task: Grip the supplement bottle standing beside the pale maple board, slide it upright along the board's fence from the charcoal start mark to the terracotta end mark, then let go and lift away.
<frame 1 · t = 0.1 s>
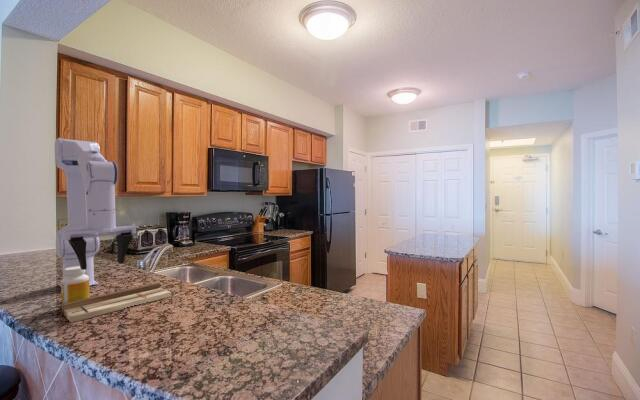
hand: (102, 265, 74), 10 cm above the countertop, fingers open, 7 cm apart
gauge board: (120, 304, 76), on the countertop
supplement bottle: (76, 307, 74), on the countertop
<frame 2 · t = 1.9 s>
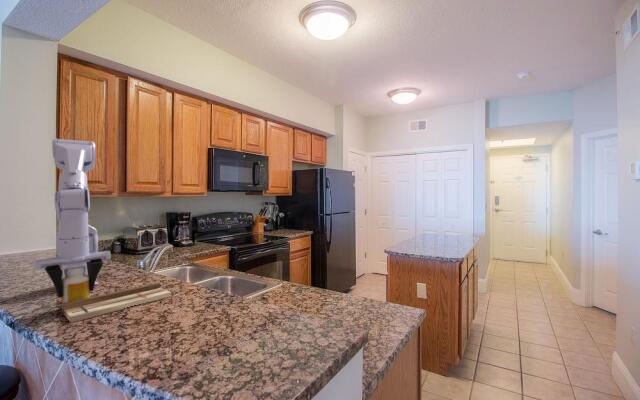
hand: (75, 293, 74), 3 cm above the countertop, fingers closed on supplement bottle, 5 cm apart
supplement bottle: (76, 307, 74), on the countertop, touching gripper
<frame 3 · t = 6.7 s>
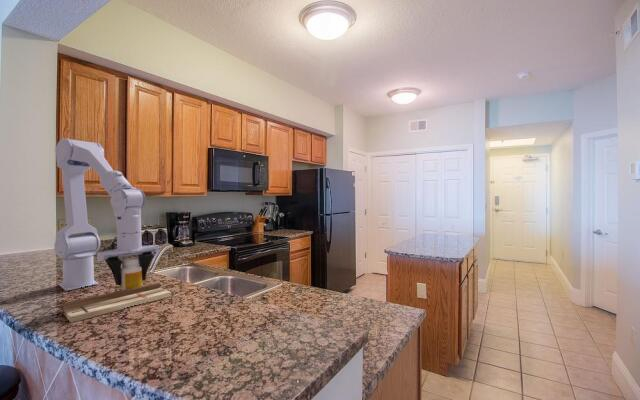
hand: (130, 281, 84), 3 cm above the countertop, fingers closed on supplement bottle, 5 cm apart
supplement bottle: (131, 294, 83), on the countertop, touching gripper
when the fingers open (3 cm above the countertop, at t = 6.7 s): supplement bottle stays where it is, on the countertop.
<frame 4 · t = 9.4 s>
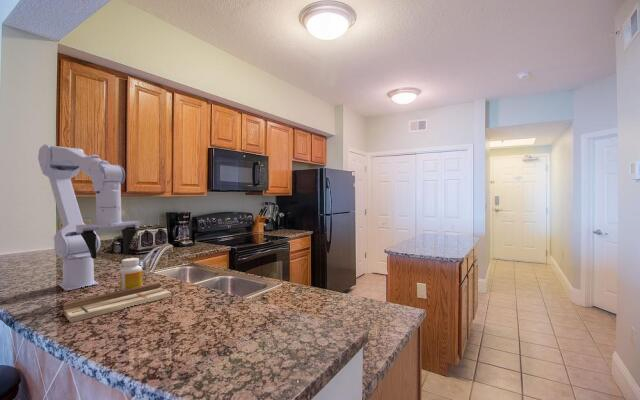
hand: (110, 255, 85), 10 cm above the countertop, fingers open, 7 cm apart
supplement bottle: (131, 295, 83), on the countertop
at the end: supplement bottle 0.2 cm from the target spot, on the countertop; supplement bottle tilted 0°; the gripper is holding nothing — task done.
